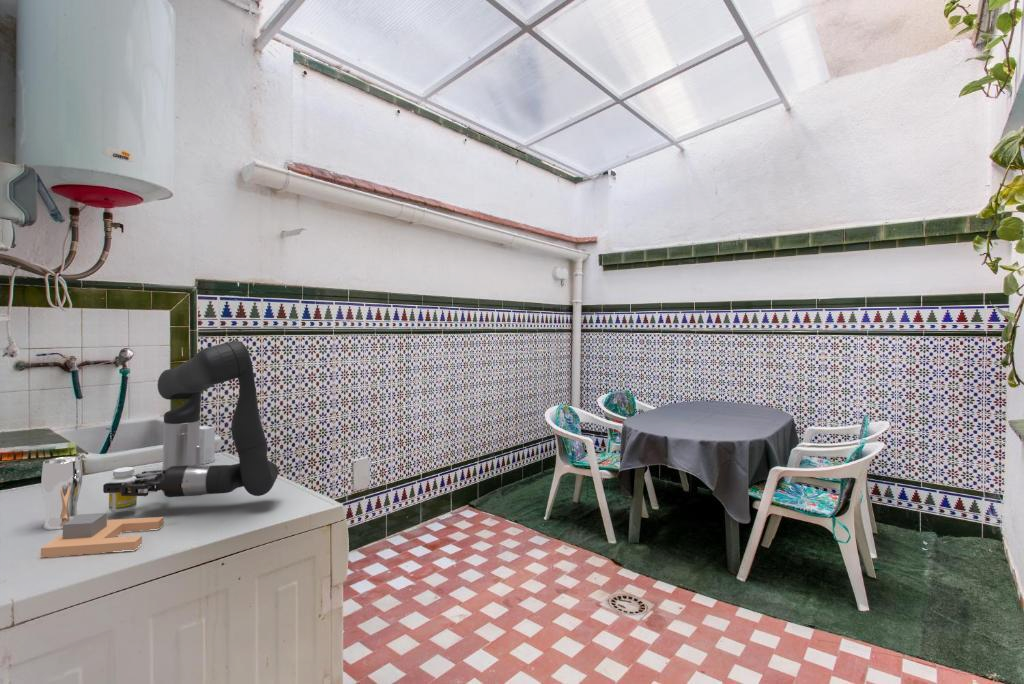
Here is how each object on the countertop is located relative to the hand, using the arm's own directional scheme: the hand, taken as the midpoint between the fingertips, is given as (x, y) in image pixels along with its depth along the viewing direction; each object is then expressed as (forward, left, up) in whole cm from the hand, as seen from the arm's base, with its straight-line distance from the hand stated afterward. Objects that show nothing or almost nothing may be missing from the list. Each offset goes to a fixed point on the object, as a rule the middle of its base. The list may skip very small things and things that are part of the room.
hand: (110, 484), depth 120 cm
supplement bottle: (-2, +1, -6) cm, 7 cm away
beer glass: (+9, +1, -8) cm, 12 cm away
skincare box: (-25, -43, -8) cm, 50 cm away
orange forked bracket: (+1, +17, -8) cm, 19 cm away
